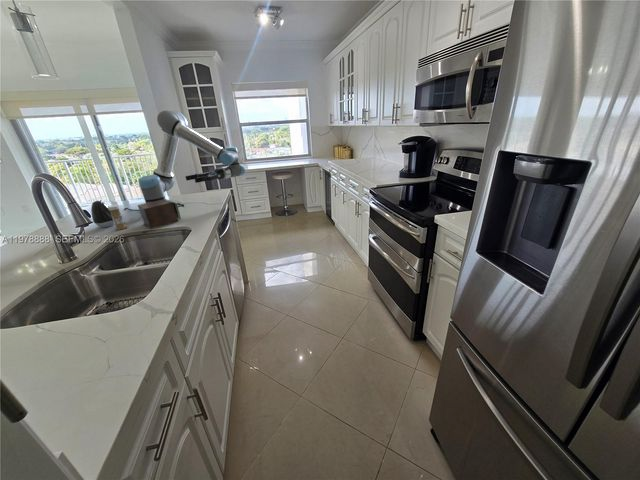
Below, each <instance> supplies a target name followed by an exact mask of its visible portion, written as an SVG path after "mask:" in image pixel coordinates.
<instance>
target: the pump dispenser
mask: <svg viewBox="0 0 640 480" xmlns="http://www.w3.org/2000/svg"><path fill="white" fill-rule="evenodd" d="M90 209H91V211H90V212H91V218H92V221H93V223H94V224H95V225H96V226H98V227H99V228H108V227H111V226H114V225H115V223H114V221H113V219H112V216H111V213H110V211H109V210H108V205H107V204H106V203H105V202H104V201H103V200H102V199H100V200H95V201H93V202H92V203H91V208H90Z"/></svg>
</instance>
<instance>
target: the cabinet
mask: <svg viewBox="0 0 640 480" xmlns="http://www.w3.org/2000/svg"><path fill="white" fill-rule="evenodd" d="M168 200H169V199H167V198H166V199H163V200H158V201H154V202H149V203H146V202H145V203H140V204H137V207H138V208H137V209H138V210H140V211H139V213H140V215H141V219H142V221H143V223H144V225H145V226H147V227H148V228H149V229H155V228H159V227H162V226H166V225H169V224H172V223H176V222H179V219H178V218H177V215H176V212H175V209H174V206H173V202H171V201H172V200H171V201H168Z"/></svg>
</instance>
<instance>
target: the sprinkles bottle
mask: <svg viewBox="0 0 640 480" xmlns="http://www.w3.org/2000/svg"><path fill="white" fill-rule="evenodd" d="M107 206H108V205H107ZM108 210H109V211H110V213H111V216H112V219H113V221H114V225H115V228H116V230H117V231H120V230H124V229H126V228H127V226H126V223H125V221H124V218H123V216H122V213H121V211H120V207H119V206H118V204H112V205H109V206H108Z"/></svg>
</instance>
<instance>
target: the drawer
mask: <svg viewBox="0 0 640 480" xmlns="http://www.w3.org/2000/svg"><path fill="white" fill-rule="evenodd" d="M167 200H168V201H171V202H173V206H174V209H175V212H176V215H177V219H178V220H180V219H182V215H181V212H180V210H179V208H180V207H181V208H184V207H185V204H183V203H181V202H176V201H174V200H171V199H167Z"/></svg>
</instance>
